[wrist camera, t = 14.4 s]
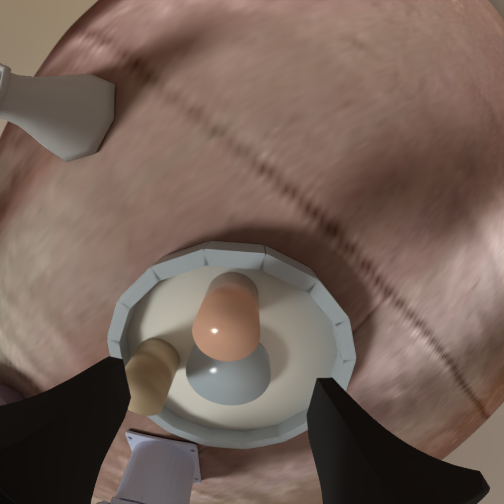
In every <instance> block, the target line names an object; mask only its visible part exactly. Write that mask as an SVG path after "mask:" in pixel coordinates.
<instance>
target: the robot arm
mask: <svg viewBox="0 0 504 504" xmlns="http://www.w3.org/2000/svg"><path fill="white" fill-rule="evenodd" d="M130 400H131V394H130V390H129V385H128V381H127V376H126V371H125V366H124V361H123V359H120V358H116V357H111V356H109V357H107V358H105V359H103V360H101V361H100V362H98V363H96V364H95V365H93V366H91V367H90V368H88V369H86V370H85V371H83V372H81V373H80V374H78V375H76V376H74V377H73V378H71V379H69V380H67V381H65V382H63V383H61V384H60V385H58V386H56V387H54V388H52V389H50V390H48V391H45V392H43V393H41V394H38V395H36V396H33V397H30V398H28V399H24V400H21V401H17V402H13V403H10V404H6V405H1V406H0V504H91V499H92V495H93V491H94V487H95V484H96V480H97V477H98V474H99V471H100V468H101V465H102V463H103V460H104V458H105V456H106V454H107V452H108V450H109V448H110V446H111V444H112V442H113V440H114V438H115V436H116V434H117V432H118V430H119V428H120V426H121V424H122V422H123V420H124V418H125V415H126V412H127V409H128V406H129V403H130ZM306 416H307V426H308V435H309V440H310V444H311V449H312V453H313V457H314V461H315V464H316V468H317V472H318V476H319V480H320V485H321V490H322V499H323V504H477V503H478V502H479V501H480V500H481V499H483V498H484V497H485V495H487V493H488V492H489V490H490V487H489V485H488V484H487V482H486V480H485V479H484V477H483V475H482V474H481V472H480V471H477V470H472V469H468V468H463V467H459V466H456V465H452V464H450V463H447V462H444V461H441V460H439V459H436V458H434V457H432V456H429V455H427V454H425V453H423V452H421V451H419V450H418V449H416V448H414V447H412V446H410V445H409V444H407V443H405V442H404V441H402V440H401V439H399V438H398V437H396V436H395V435H393V434H392V433H391V432H389V431H388V430H387V429H385V428H384V427H383V426H382V425H380V424H379V423H378V422H377V421H376V420H374V419H373V418H372V417H371V416H370V415H369V414H368V413H367V412H366V411H365V410H364V409H362V408H361V407H360V406H359V405H358V404H357V403H356V402H355V401H354V400H353V399H352V397H351V396H350V395H349V394H348V393H347V392H346V391H345V390H344V389H343V388H342V387H341V386H340V385H339V384H338V383H337V382H336V381H335V379H334V378H333V377H330V378H317V379H316V383H315V386H314V390H313V394H312V397H311V401H310V404H309V408H308V411H307V415H306ZM125 434H126V437H127V440H128V443H129V445H130V448H131V450H132V454H131V457H130V459H129V462H128V464H127V467H126V469H125V472H124V474H123V477H122V480H121V482H120V485H119V488H118V490H117V493H116V495H115V497H112V499H111V502H110V503H109V502H107V501H102V502H98V503H97V504H189V502H190V496H191V491H192V485H193V483H195V484H200V483H201V474H200V466H199V457H198V447H197V445H196V444H193V443H187V442H181V441H175V440H169V439H164V438H159V437H154V436H150V435H145V434H141V433H137V432H133V431H129V430H128V431H126V433H125Z"/></svg>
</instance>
